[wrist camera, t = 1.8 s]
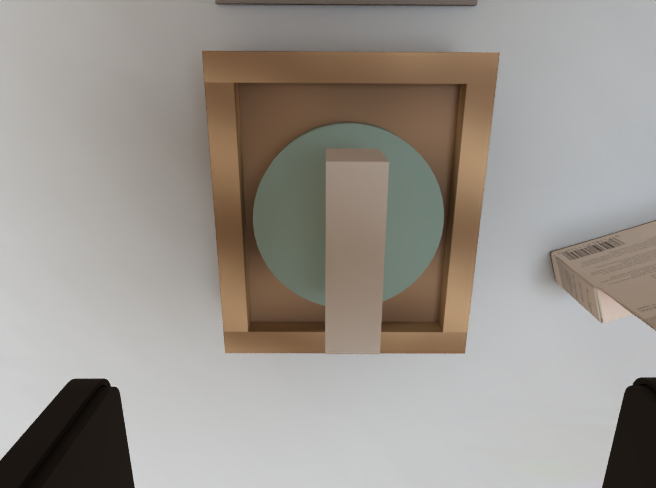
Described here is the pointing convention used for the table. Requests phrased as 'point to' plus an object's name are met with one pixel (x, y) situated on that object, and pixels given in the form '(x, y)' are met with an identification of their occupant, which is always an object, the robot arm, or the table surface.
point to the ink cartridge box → (612, 274)
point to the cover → (348, 225)
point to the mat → (354, 2)
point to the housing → (338, 106)
